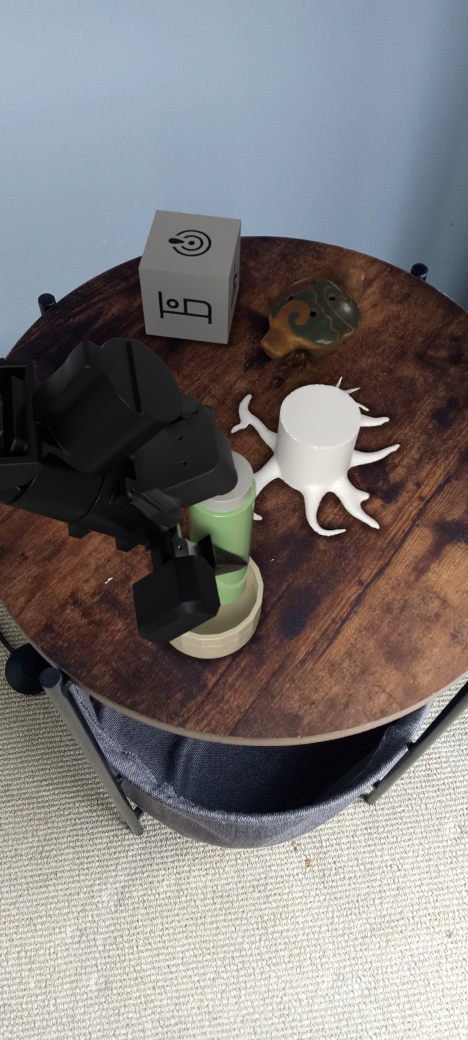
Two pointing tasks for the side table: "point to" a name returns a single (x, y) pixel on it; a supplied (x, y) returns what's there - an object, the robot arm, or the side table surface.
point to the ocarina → (315, 314)
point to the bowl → (227, 623)
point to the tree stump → (316, 448)
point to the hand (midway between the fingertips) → (237, 537)
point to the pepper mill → (228, 527)
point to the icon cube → (190, 276)
